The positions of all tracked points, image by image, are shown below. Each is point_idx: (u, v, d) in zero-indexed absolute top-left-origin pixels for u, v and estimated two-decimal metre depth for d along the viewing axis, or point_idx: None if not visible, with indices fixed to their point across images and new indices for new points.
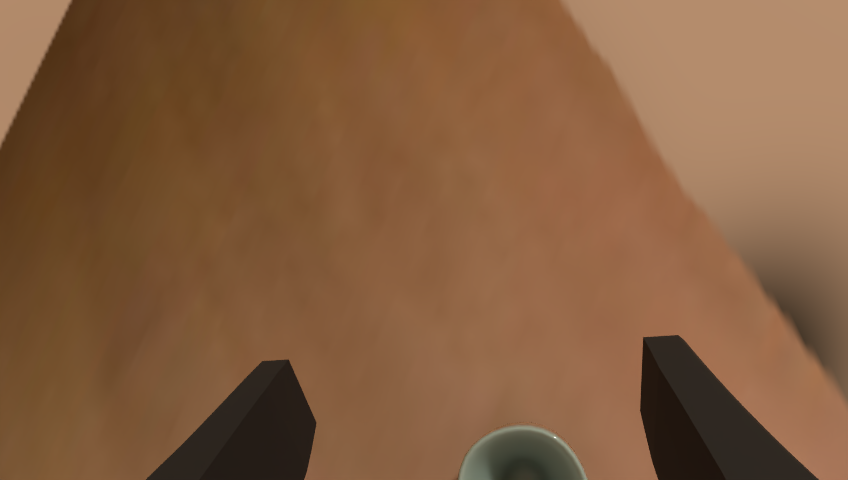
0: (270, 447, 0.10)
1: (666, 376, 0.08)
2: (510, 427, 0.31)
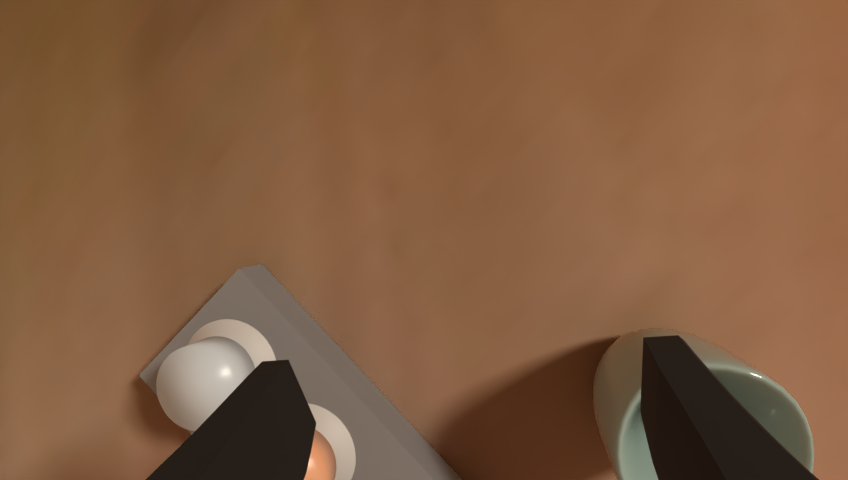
0: (270, 447, 0.10)
1: (666, 376, 0.08)
2: (735, 365, 0.21)
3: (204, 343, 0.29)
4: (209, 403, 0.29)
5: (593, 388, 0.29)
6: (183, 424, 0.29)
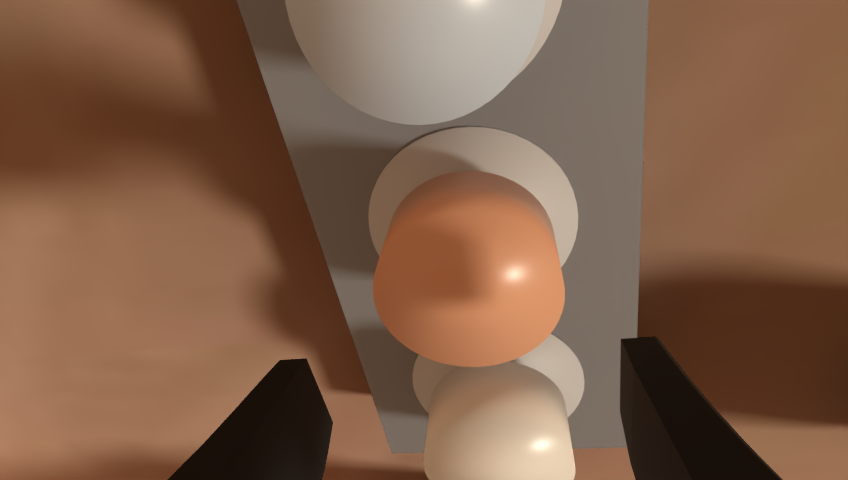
0: (289, 446, 0.10)
1: (640, 377, 0.08)
2: None
3: None
4: (426, 61, 0.10)
5: None
6: (323, 67, 0.10)
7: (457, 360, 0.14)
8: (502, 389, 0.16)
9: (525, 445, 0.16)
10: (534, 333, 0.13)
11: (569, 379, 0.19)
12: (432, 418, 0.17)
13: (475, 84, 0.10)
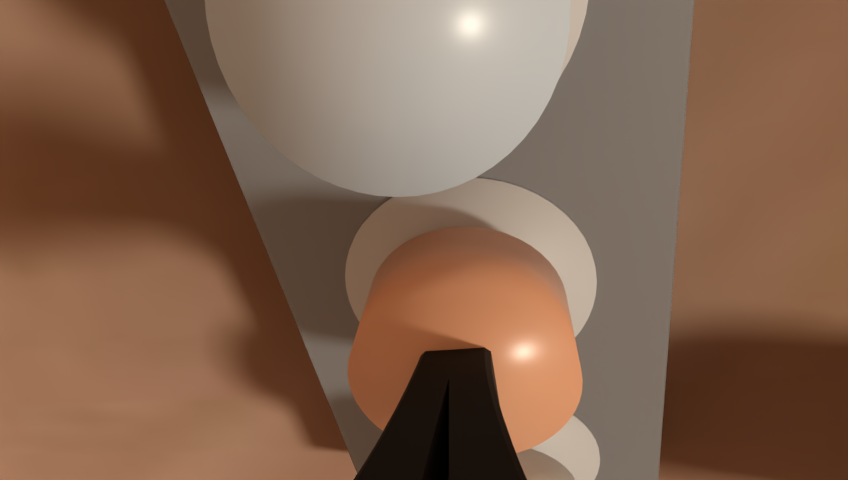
0: None
1: (450, 387, 0.09)
2: None
3: None
4: (404, 117, 0.07)
5: None
6: (267, 123, 0.08)
7: None
8: None
9: None
10: (544, 426, 0.11)
11: (582, 456, 0.17)
12: None
13: (470, 147, 0.08)
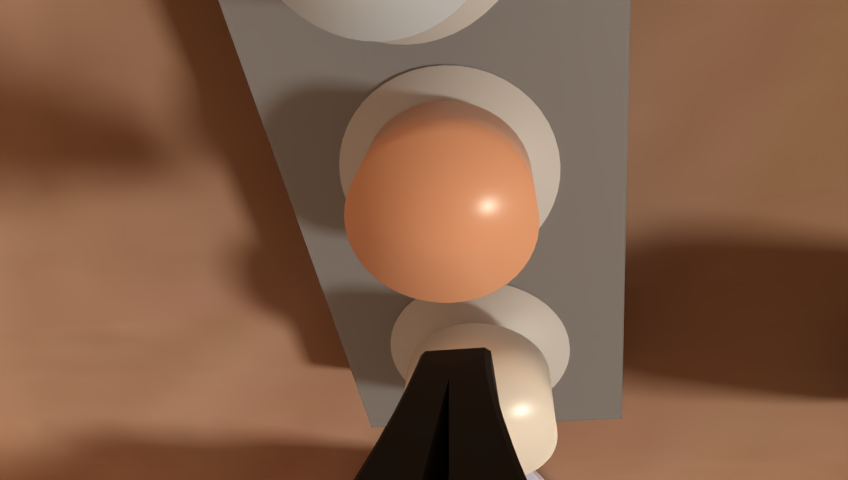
0: None
1: (450, 387, 0.09)
2: None
3: None
4: None
5: None
6: None
7: (432, 295, 0.14)
8: None
9: (504, 408, 0.15)
10: (510, 265, 0.13)
11: (554, 346, 0.18)
12: None
13: None
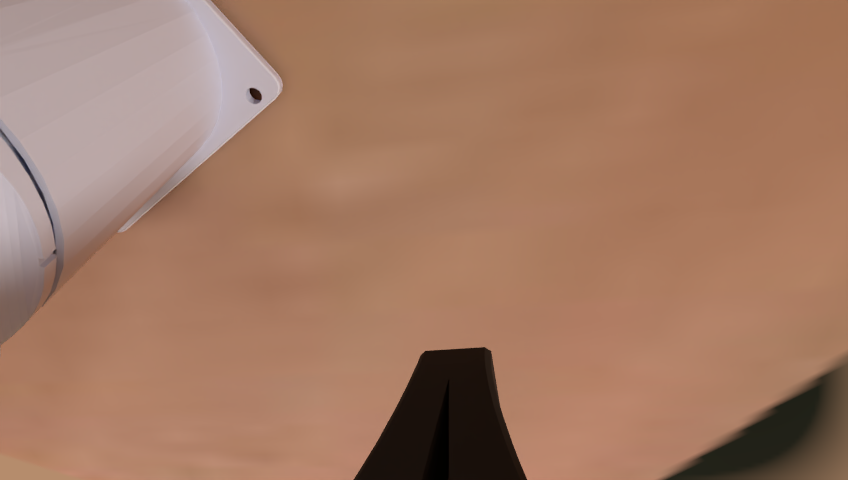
0: None
1: (450, 387, 0.09)
2: None
3: None
4: None
5: None
6: None
7: None
8: None
9: None
10: None
11: None
12: None
13: None
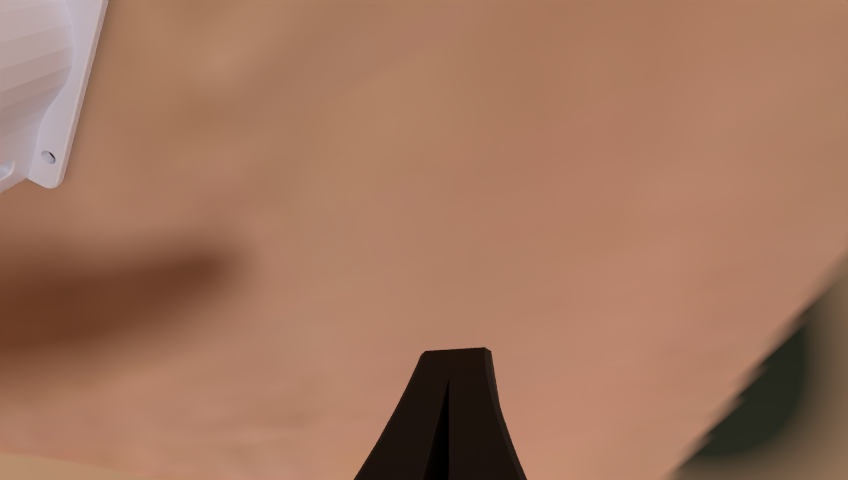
0: None
1: (450, 387, 0.09)
2: None
3: None
4: None
5: None
6: None
7: None
8: None
9: None
10: None
11: None
12: None
13: None
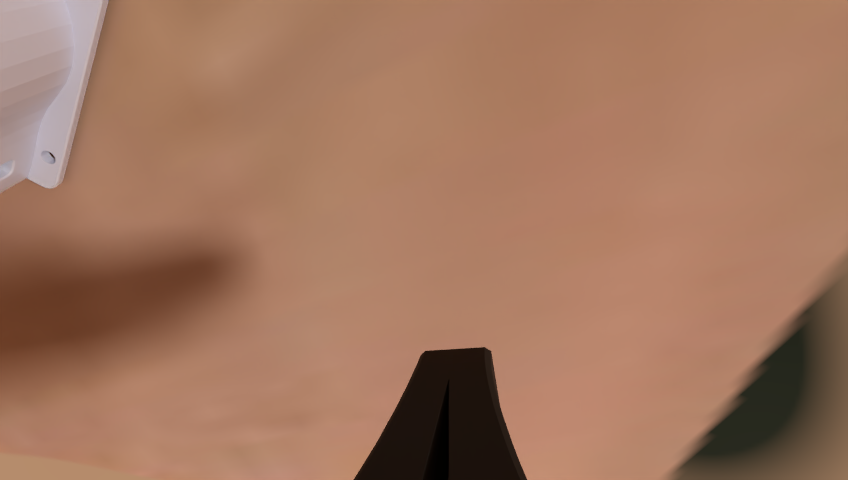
0: None
1: (450, 387, 0.09)
2: None
3: None
4: None
5: None
6: None
7: None
8: None
9: None
10: None
11: None
12: None
13: None
